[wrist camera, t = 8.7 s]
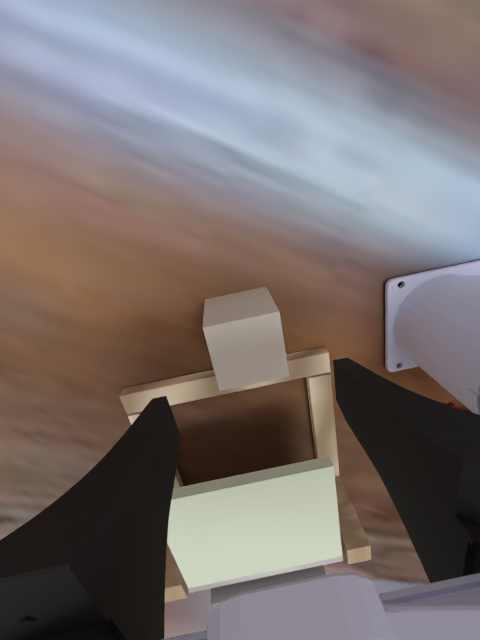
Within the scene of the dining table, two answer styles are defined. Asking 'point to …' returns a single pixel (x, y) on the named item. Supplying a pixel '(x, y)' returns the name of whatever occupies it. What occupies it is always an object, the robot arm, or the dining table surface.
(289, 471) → the trapdoor
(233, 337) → the white block
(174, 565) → the frame
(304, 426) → the dining table surface
